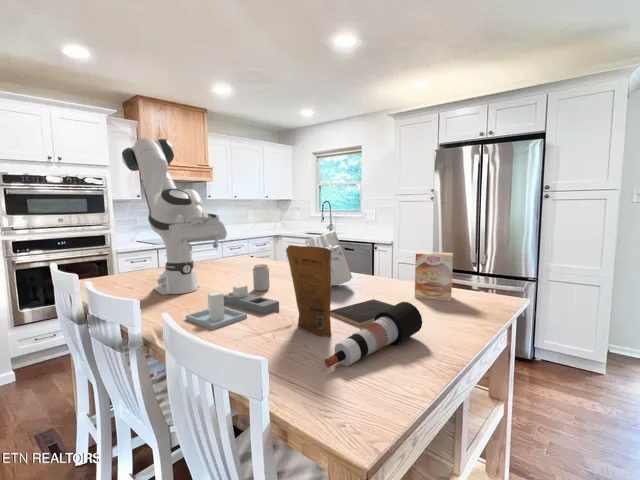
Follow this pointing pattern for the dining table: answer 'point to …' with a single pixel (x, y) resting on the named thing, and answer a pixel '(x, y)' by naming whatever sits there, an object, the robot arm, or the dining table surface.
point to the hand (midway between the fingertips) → (203, 248)
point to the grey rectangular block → (216, 306)
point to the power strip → (250, 301)
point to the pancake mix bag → (312, 287)
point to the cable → (378, 334)
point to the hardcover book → (361, 312)
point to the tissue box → (333, 256)
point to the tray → (204, 320)
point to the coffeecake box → (433, 275)
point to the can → (261, 277)
